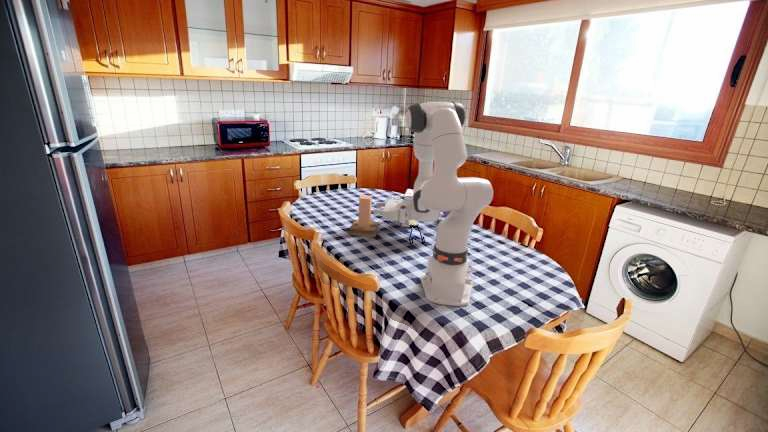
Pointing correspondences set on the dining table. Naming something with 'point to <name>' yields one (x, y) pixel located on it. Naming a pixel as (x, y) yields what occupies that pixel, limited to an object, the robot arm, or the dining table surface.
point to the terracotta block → (365, 211)
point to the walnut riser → (364, 229)
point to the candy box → (407, 197)
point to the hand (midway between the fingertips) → (374, 207)
